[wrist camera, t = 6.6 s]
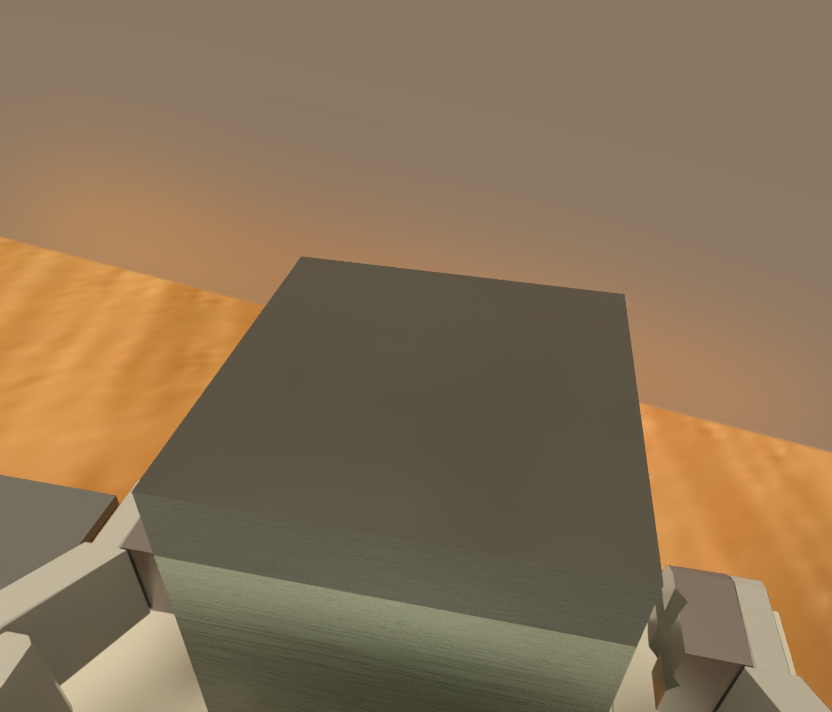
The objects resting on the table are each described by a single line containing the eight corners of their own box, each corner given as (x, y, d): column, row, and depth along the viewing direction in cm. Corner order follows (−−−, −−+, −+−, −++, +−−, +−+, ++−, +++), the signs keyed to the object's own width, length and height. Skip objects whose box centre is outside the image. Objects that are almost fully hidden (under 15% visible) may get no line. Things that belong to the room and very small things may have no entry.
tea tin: (522, 693, 17) (624, 294, 10) (508, 945, 13) (664, 584, 6) (336, 655, 17) (301, 256, 10) (267, 883, 13) (130, 491, 6)
